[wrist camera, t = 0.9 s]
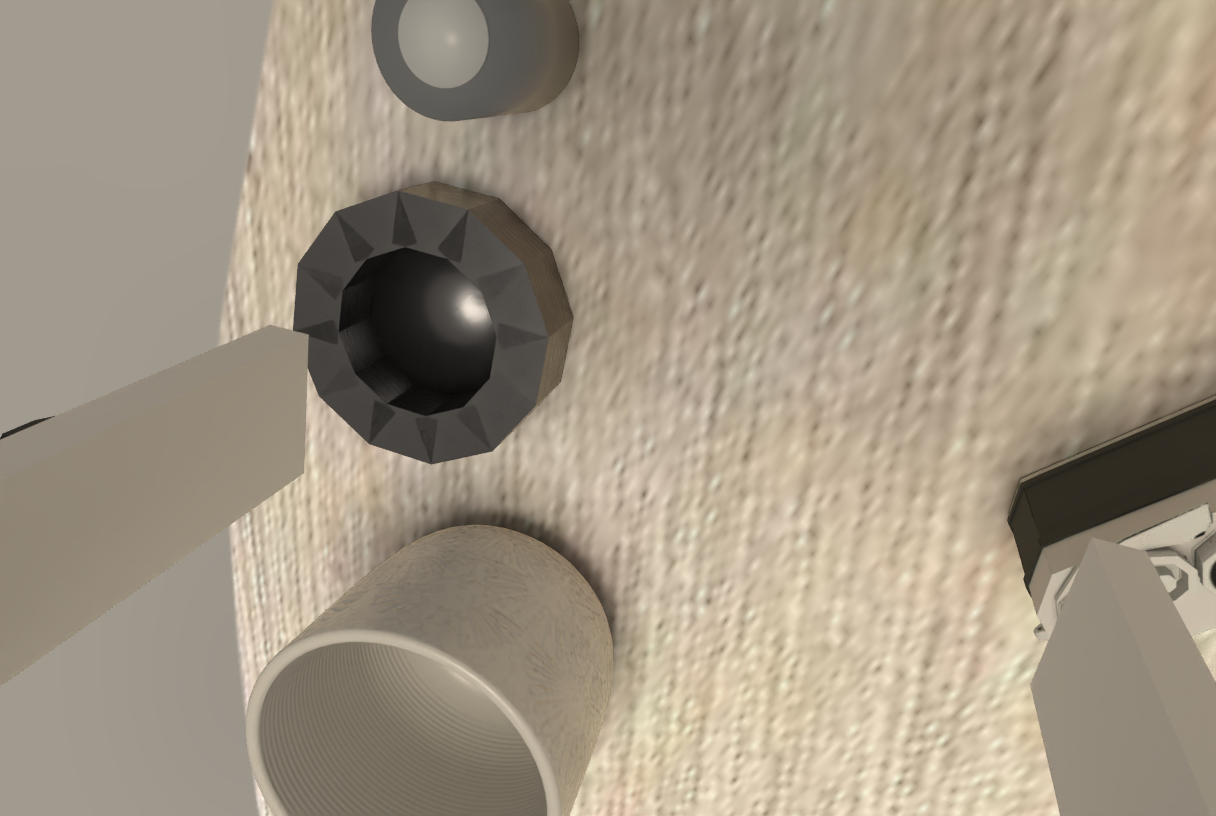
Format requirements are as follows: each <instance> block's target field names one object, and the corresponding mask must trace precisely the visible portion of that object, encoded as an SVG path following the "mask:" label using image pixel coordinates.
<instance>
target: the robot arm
mask: <svg viewBox="0 0 1216 816" xmlns="http://www.w3.org/2000/svg"><path fill="white" fill-rule="evenodd" d="M308 340H309V335H308V334H304V333H300V332H296V331H292V330H288V329H285V328H281V327H277V326H273V325H269V326H267V327H264V328H262V329H259V330H257V331H255V332H252V333H250V334H248V335H245V336H243V337H241V338H238V339H236V340H234V341H231V342H229V343H227V344H224V345H222V346H219V347H217V348H215V349H212V350H210V351H208V352H205V353H203V354H201V355H199V356H196V357H194V358H191V359H189V360H187V361H185V362H182V363H180V364H177V365H175V366H173V367H170V368H168V369H165V370H163V371H161V372H158V373H156V374H154V375H151V376H149V377H147V378H144V379H142V380H140V381H137V382H135V383H133V384H130V385H128V386H125V387H123V388H121V389H118V390H116V391H114V392H111V393H109V394H107V395H104V396H102V397H100V398H97V399H95V400H92V401H90V402H88V403H85V404H83V405H81V406H78V407H76V408H74V409H71V410H69V411H67V412H64V413H62V414H60V415H57V416H53V417H49V418H43V419H39V420H34V421H32V422H30V423H27V424H25V425H22V426H20V427H17V428H15V429H13V430H10V431H8V432H6V433H3V434H2V436H1V438H0V686H2V685H3V684H4V683H6V682H7V681H9V680H10V679H11V678H13V677H14V676H16V675H17V674H19V673H20V672H22V671H23V670H24V669H26V668H27V667H28V666H30V665H31V664H33V663H34V662H36V661H37V660H39V659H40V658H41V657H43V656H44V655H46V654H47V653H49V652H50V651H51V650H53V649H54V648H55V647H57V646H58V645H60V644H61V643H63V642H64V641H66V640H67V639H68V638H70V637H71V636H73V635H74V634H76V633H77V632H78V631H80V630H81V629H83V628H84V627H85V626H87V625H88V624H90V623H91V622H93V621H94V620H95V619H97V618H98V617H100V616H101V615H103V614H104V613H105V612H106V611H108V610H110V609H111V608H113V607H114V606H115V605H117V604H118V603H120V602H121V601H123V600H124V599H125V598H127V597H128V596H130V595H131V594H132V593H134V592H135V591H137V590H138V589H140V588H141V587H142V586H143V585H145V584H147V583H148V582H150V581H151V580H152V579H154V578H155V577H157V576H158V575H159V574H161V573H162V572H164V571H165V570H166V569H168V568H169V567H171V566H172V565H174V564H175V563H177V562H178V561H179V560H181V559H182V558H184V557H185V556H187V555H188V554H189V553H191V552H192V551H194V550H195V549H196V548H198V547H199V546H201V545H202V544H204V543H205V542H206V541H208V540H209V539H210V538H212V537H214V536H215V535H216V534H218V533H219V532H221V531H222V530H223V529H225V528H226V527H228V526H229V525H231V524H232V523H233V522H235V521H236V520H238V519H239V518H241V517H242V516H243V515H245V514H246V513H248V512H249V511H251V510H252V509H253V508H255V507H256V506H258V505H259V504H260V503H262V502H263V501H265V500H266V499H268V498H269V497H270V496H272V495H273V494H275V493H276V492H278V491H279V490H280V489H282V488H283V487H285V486H286V485H287V484H289V483H290V482H292V481H293V480H295V479H296V478H297V477H299V476H300V475H302V474H303V473H304V457H305V428H306V398H307V369H308ZM1030 685H1031V690H1032V694H1033V698H1034V703H1035V707H1036V711H1037V716H1038V720H1039V724H1040V729H1041V733H1042V738H1043V742H1044V746H1045V751H1046V755H1047V759H1048V764H1049V768H1050V772H1051V777H1052V781H1053V785H1054V790H1055V794H1056V799H1057V803H1058V807H1059V812H1060V816H1216V682H1215V680H1214V678H1213V677H1212V675H1211V673H1210V671H1209V669H1208V667H1207V665H1206V663H1205V661H1204V660H1203V658H1202V656H1201V654H1200V652H1199V650H1198V648H1197V646H1196V644H1195V643H1194V641H1193V639H1192V637H1191V635H1190V633H1189V631H1188V629H1187V627H1186V626H1185V624H1184V622H1183V620H1182V618H1181V616H1180V614H1179V612H1178V610H1177V608H1176V607H1175V605H1174V603H1173V601H1172V599H1171V597H1170V595H1169V593H1168V591H1167V590H1166V588H1165V586H1164V584H1163V582H1162V580H1161V578H1160V576H1159V574H1158V573H1157V571H1156V569H1155V567H1154V565H1153V563H1152V561H1151V559H1150V557H1149V556H1148V554H1147V552H1146V551H1143V550H1139V549H1135V548H1131V547H1127V546H1123V545H1120V544H1116V543H1112V542H1108V541H1104V540H1100V539H1096V538H1093V537H1092V538H1091V540H1090V542H1089V545H1088V547H1087V550H1086V552H1085V554H1084V557H1083V559H1082V562H1081V564H1080V566H1079V569H1078V571H1077V574H1076V576H1075V578H1074V581H1073V583H1072V586H1071V588H1070V591H1069V593H1068V595H1067V598H1066V600H1065V603H1064V605H1063V607H1062V610H1061V612H1060V615H1059V617H1058V619H1057V622H1056V624H1055V627H1054V629H1053V631H1052V634H1051V636H1050V639H1049V641H1048V643H1047V646H1046V648H1045V651H1044V653H1043V656H1042V658H1041V660H1040V663H1039V665H1038V668H1037V670H1036V672H1035V675H1034V677H1033V680H1032V682H1031V684H1030Z"/></svg>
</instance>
